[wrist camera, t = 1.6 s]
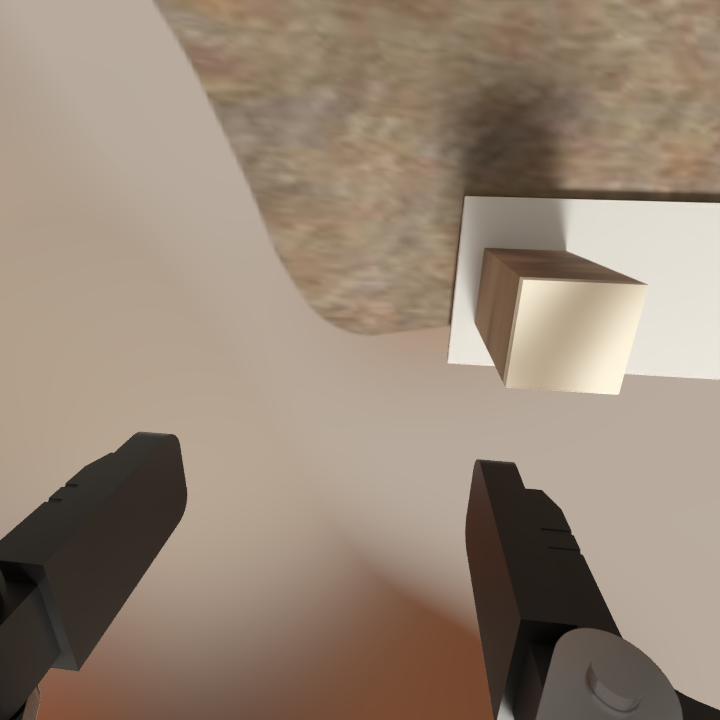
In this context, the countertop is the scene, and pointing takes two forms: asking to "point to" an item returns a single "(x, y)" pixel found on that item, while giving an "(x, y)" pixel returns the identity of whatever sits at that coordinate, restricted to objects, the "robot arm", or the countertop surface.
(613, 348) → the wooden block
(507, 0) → the countertop surface
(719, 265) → the mat
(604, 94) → the countertop surface
